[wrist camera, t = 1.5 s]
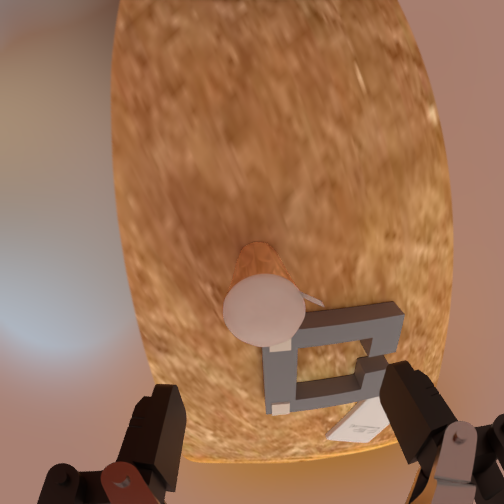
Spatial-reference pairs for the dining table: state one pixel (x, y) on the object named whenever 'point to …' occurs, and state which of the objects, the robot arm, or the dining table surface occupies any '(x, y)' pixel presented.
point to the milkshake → (263, 298)
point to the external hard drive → (360, 422)
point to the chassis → (324, 333)
